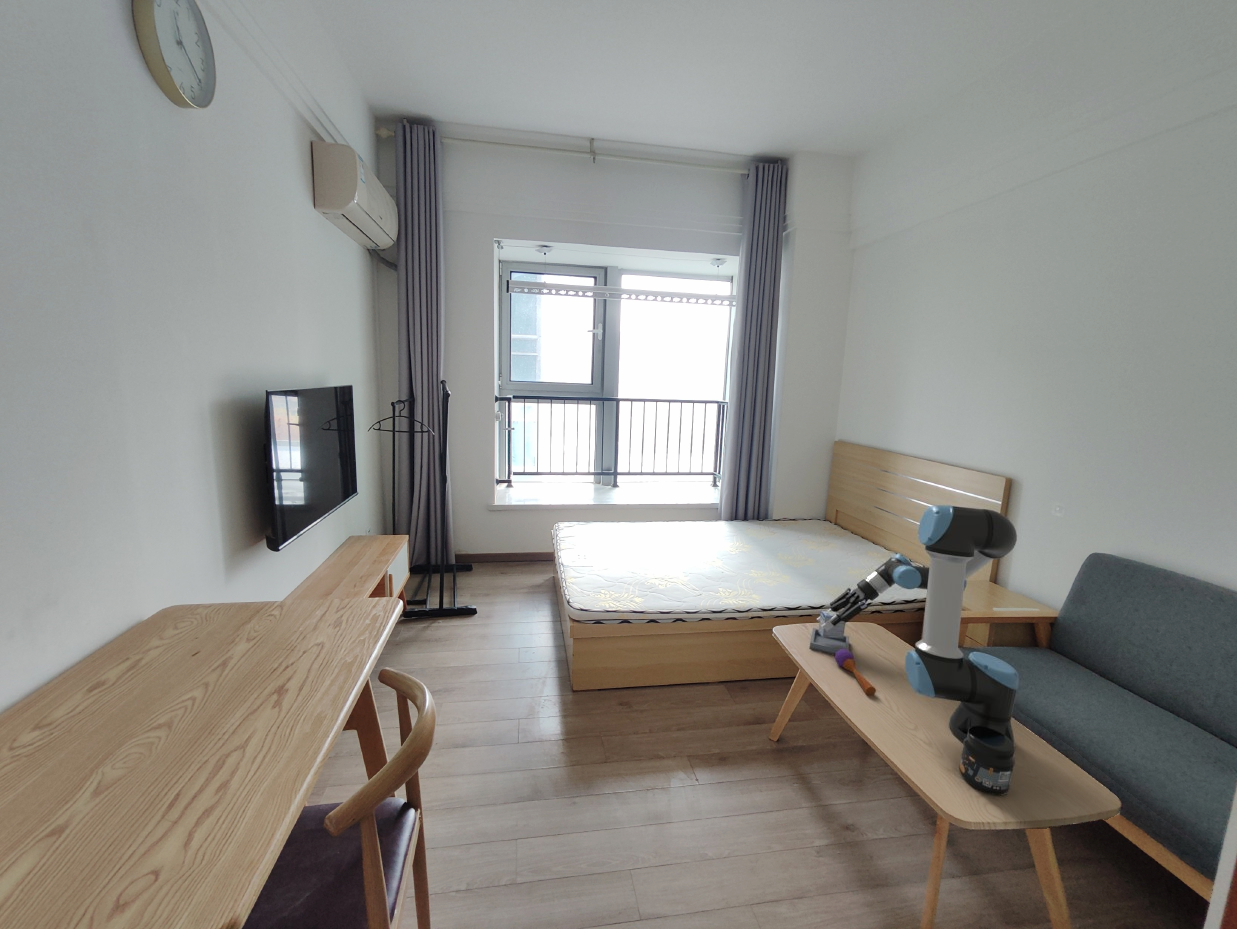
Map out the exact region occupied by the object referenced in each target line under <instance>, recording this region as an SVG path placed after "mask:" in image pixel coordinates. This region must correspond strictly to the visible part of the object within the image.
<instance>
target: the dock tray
mask: <svg viewBox="0 0 1237 929" xmlns="http://www.w3.org/2000/svg"><path fill="white" fill-rule="evenodd" d="M818 630H819V628H815V627H812V632H811V637H810V642H809V649H810V650H813V651H817V652H820V651H821V653H824V652H825V654H828V653H829V655H832V654H834V655H833V656H835V654H836V653H837V651H839V650H841V649H845V650H848V651H850V636H849V635H845V634H844V637H843V638H829V637H822V636H821V635H820V633H819V631H818Z"/></svg>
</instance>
